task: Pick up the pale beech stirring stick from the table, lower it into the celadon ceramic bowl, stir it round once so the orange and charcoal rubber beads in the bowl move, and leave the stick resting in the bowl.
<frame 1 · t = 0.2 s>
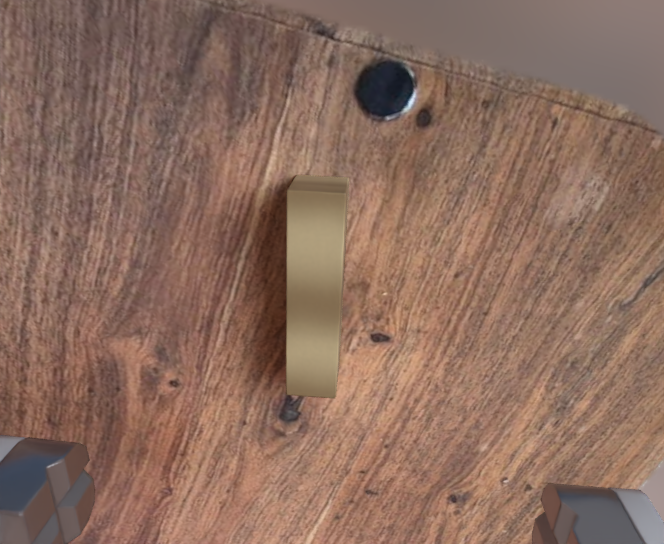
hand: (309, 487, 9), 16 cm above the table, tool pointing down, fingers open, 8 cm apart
stick: (319, 277, 25), on the table
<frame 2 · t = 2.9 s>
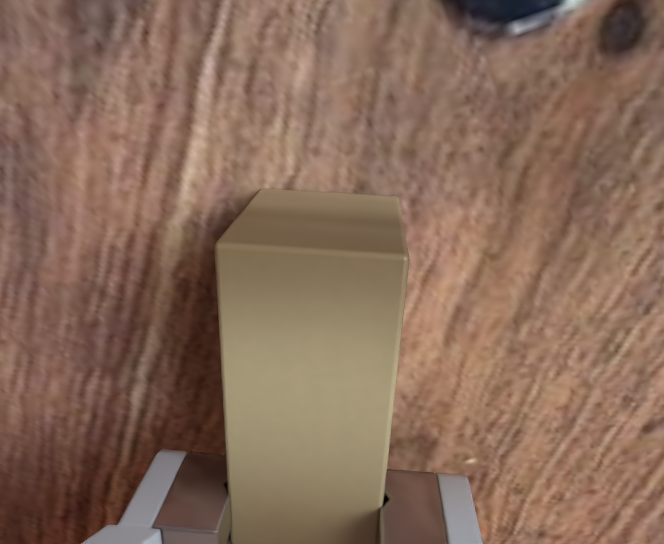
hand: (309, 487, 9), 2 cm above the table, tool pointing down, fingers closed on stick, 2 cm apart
stick: (320, 425, 11), on the table, touching gripper
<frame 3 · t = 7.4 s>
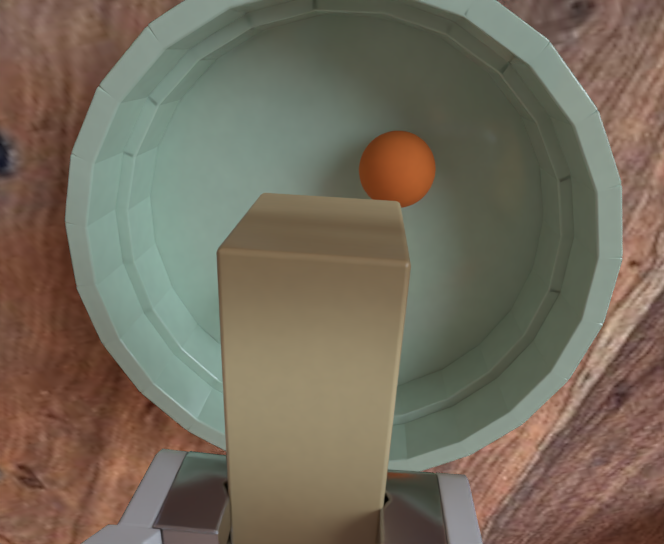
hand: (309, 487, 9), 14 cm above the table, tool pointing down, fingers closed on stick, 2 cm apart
bead a: (395, 162, 20), point 1 cm above the table, touching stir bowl
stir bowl: (342, 226, 22), on the table
stick: (320, 428, 11), point 12 cm above the table, touching gripper
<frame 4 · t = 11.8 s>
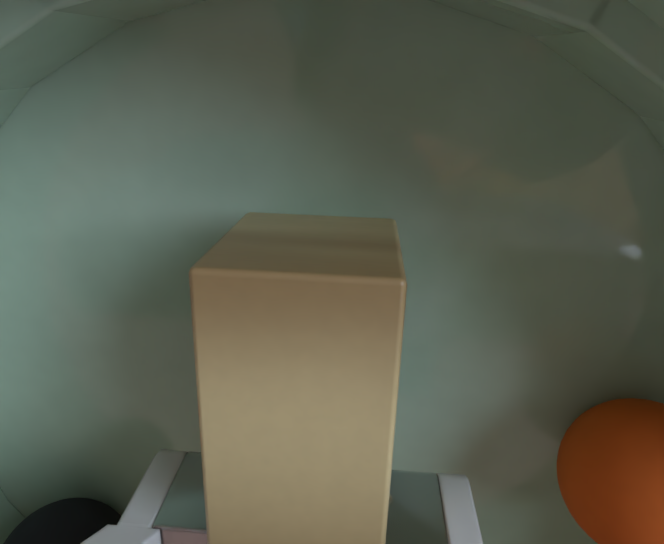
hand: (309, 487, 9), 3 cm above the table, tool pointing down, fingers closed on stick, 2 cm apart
bead a: (603, 526, 10), point 2 cm above the table, tilted 85°, touching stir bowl
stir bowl: (318, 401, 11), on the table
stick: (315, 470, 10), point 2 cm above the table, touching gripper
when the fingers open (1 cm above the table, at t = 12.4 s): stick stays where it is, resting on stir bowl.
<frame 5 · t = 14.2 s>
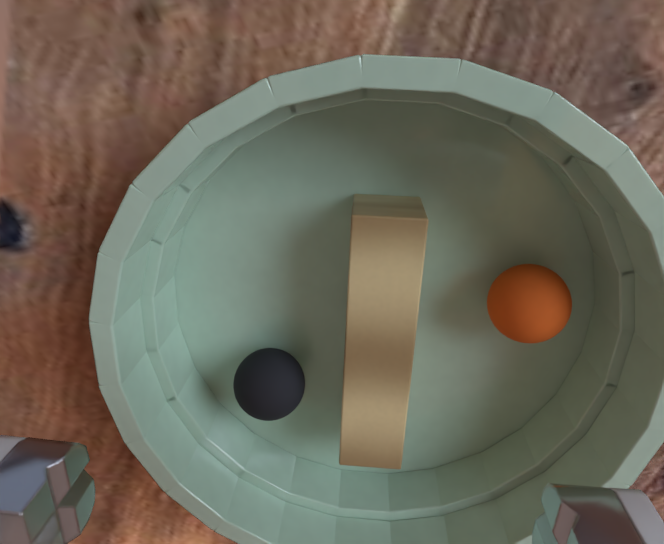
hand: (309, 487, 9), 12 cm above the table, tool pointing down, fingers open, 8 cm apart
bead b: (304, 388, 20), point 2 cm above the table, tilted 85°, touching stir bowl
bead a: (498, 328, 18), point 2 cm above the table, tilted 89°, touching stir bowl
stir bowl: (378, 306, 21), on the table
stick: (377, 318, 20), point 1 cm above the table, touching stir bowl
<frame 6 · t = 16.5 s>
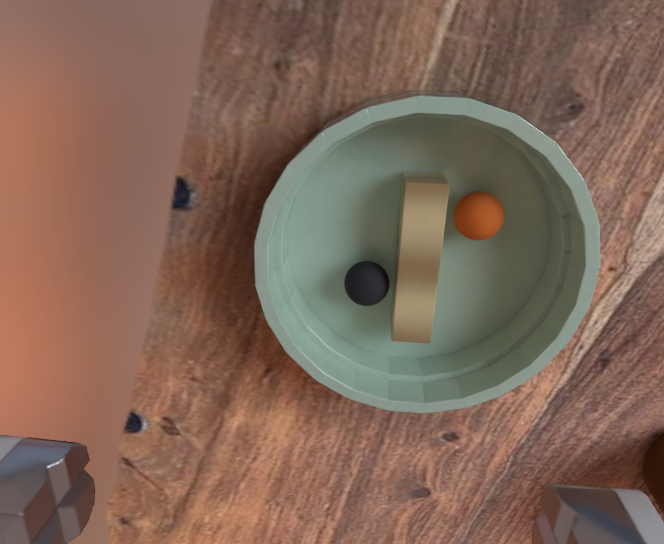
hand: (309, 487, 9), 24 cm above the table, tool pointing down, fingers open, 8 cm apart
bead b: (380, 284, 33), point 1 cm above the table, tilted 46°, touching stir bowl
bead a: (466, 236, 30), point 2 cm above the table, tilted 88°, touching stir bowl
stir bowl: (415, 244, 33), on the table
stick: (415, 251, 32), point 1 cm above the table, touching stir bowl
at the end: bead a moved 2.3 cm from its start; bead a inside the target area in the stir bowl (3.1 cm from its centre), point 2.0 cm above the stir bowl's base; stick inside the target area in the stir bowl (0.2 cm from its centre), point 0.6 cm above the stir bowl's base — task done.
